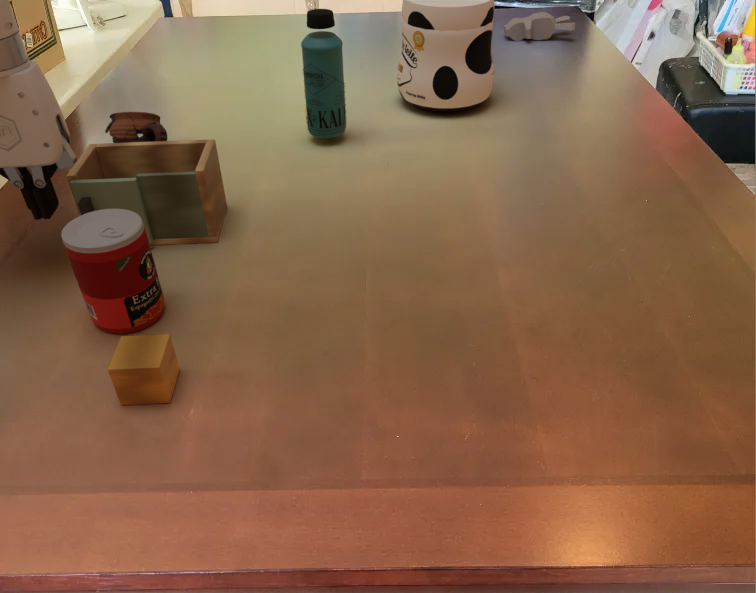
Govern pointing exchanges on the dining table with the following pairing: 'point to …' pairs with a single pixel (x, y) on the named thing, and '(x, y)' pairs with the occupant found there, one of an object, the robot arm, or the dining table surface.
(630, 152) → the dining table surface
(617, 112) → the dining table surface
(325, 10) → the beverage bottle
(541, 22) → the bunny figurine
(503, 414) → the dining table surface
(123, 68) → the dining table surface
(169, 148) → the cupboard
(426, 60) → the milk container
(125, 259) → the canned food
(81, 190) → the closet door
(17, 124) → the robot arm
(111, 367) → the block
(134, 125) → the pottery mug
